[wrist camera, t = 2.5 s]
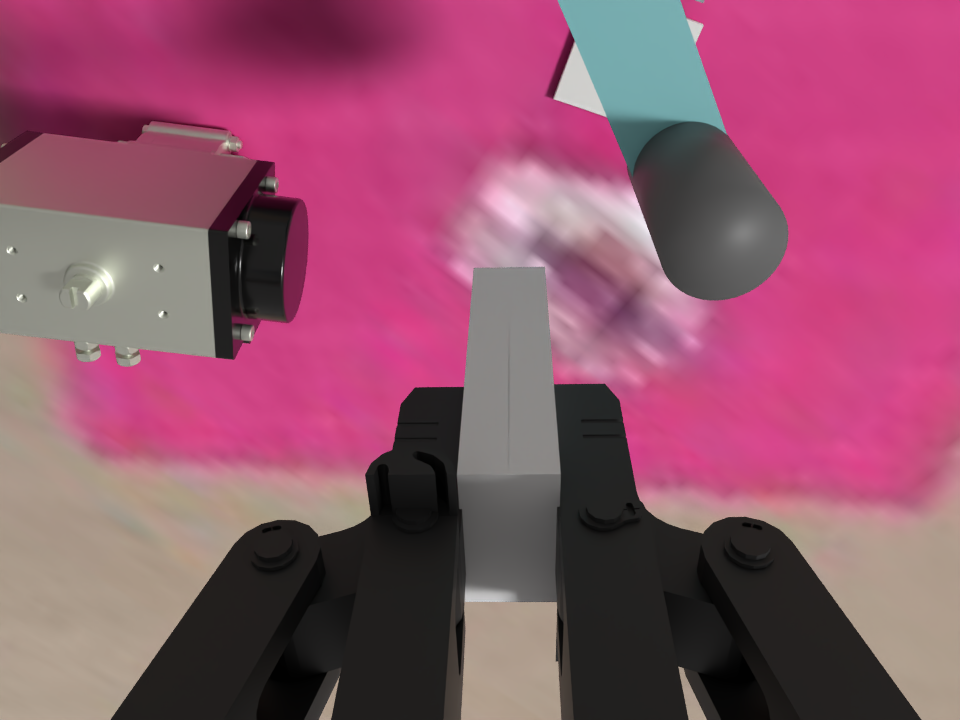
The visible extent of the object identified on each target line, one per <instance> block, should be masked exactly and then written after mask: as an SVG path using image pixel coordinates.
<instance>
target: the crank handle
mask: <svg viewBox="0 0 960 720" xmlns="http://www.w3.org/2000/svg"><path fill="white" fill-rule="evenodd" d="M558 2H559V5H560V7H561V9H562V12H563V14H564V17H565V19H566V21H567V24H568V26H569V28H570V31H571V33H572V35H573V38H574V40H575V43H576V45H577V47H578V50H579V52H580V54H581V57H582V59H583V61H584V64H585V66H586V69H587V71H588V73H589V76H590V78H591V80H592V83H593V85H594V88H595V90H596V92H597V95H598V97H599V99H600V102H601V104H602V106H603V109H604V111H605V114H606V116H607V118H608V121H609V123H610V125H611V128H612V130H613V132H614V135H615V137H616V140H617V142H618V144H619V147H620V149H621V151H622V154H623V156H624V159H625V161H626V163H627V170H628V175H629V178H630V180H631V183H632V186H633V189H634V191H635V194H636V197H637V200H638V202H639V205H640V208H641V210H642V213H643V216H644V219H645V221H646V224H647V227H648V230H649V232H650V235H651V238H652V240H653V243H654V246H655V249H656V251H657V254H658V257H659V260H660V262H661V265H662V268H663V270H664V272H665V274H666V276H667V278H668V279H669V280H670V282H671V283H672V284H673V285H674V286H675V287H676V288H678V289H679V290H680V291H682V292H684V293H685V294H687V295H690V296H692V297H695V298H699V299H703V300H725V299H730V298H735V297H738V296H740V295H743V294H745V293H747V292H750V291H751V290H753V289H755V288H756V287H758V286H759V285H761V284H762V283H763V282H764V281H765V280H767V279H768V278H769V277H770V276H771V274H772V273H773V272H774V271H775V270H776V268H777V267H778V265H779V264H780V262H781V260H782V258H783V256H784V253H785V251H786V247H787V242H788V225H787V221H786V218H785V216H784V213H783V211H782V210H781V208H780V206H779V205H778V204H777V202H776V201H775V199H774V198H773V197H772V195H771V194H770V193H769V191H768V190H767V188H766V187H765V186H764V184H763V183H762V182H761V180H760V179H759V178H758V176H757V175H756V173H755V172H754V171H753V169H752V168H751V167H750V165H749V164H748V162H747V161H746V160H745V158H744V157H743V156H742V154H741V153H740V151H739V150H738V149H737V147H736V146H735V145H734V143H733V142H732V140H731V139H730V138H729V136H728V135H727V134H726V131H725V128H724V125H723V122H722V119H721V116H720V113H719V111H718V108H717V105H716V102H715V99H714V96H713V93H712V90H711V88H710V85H709V82H708V79H707V76H706V73H705V70H704V67H703V65H702V62H701V59H700V56H699V53H698V50H697V47H696V44H695V42H694V39H693V36H692V33H691V30H690V27H689V24H688V21H687V19H686V16H685V13H684V10H683V7H682V4H681V1H680V0H558Z"/></svg>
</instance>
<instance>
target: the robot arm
mask: <svg viewBox="0 0 960 720" xmlns="http://www.w3.org/2000/svg"><path fill="white" fill-rule="evenodd" d="M365 477H366V484H367V491H368V498H369V504H370V511H371V516H370V517H369V518H367V519H366V520H365V521H363V522H361V523H359V524H358V525H356V526H354V527H351V528H348V529H345V530H342V531H339V532H335V533H331V534H327V535H323V536H319V537H318V534H317V533H316V532H315V531H314V530H313V529H312V528H311V527H310V526H309V525H306V524H303V523H301V522H298V521H295V520H276V521H272V522H268V523H264V524H261V525H259V526H257V527H255V528H253V529H252V530H250V531H248V532H246V533H245V534H244V535H243V536H242V537H241V538H240V539H239V540H238V541H237V542H236V543H235V544H234V545H233V547H232V548H231V550H230V551H229V552H228V554H227V555H226V557H225V558H224V559H223V561H222V562H221V564H220V565H219V567H218V568H217V569H216V571H215V572H214V574H213V575H212V577H211V578H210V579H209V581H208V582H207V584H206V585H205V586H204V588H203V589H202V591H201V592H200V594H199V595H198V596H197V598H196V599H195V601H194V602H193V603H192V605H191V606H190V608H189V609H188V611H187V612H186V613H185V615H184V616H183V618H182V619H181V620H180V622H179V623H178V625H177V626H176V628H175V629H174V630H173V632H172V633H171V635H170V636H169V638H168V639H167V640H166V642H165V643H164V645H163V646H162V647H161V649H160V650H159V652H158V653H157V655H156V656H155V657H154V659H153V660H152V662H151V663H150V664H149V666H148V667H147V669H146V670H145V672H144V673H143V674H142V676H141V677H140V679H139V680H138V681H137V683H136V684H135V686H134V687H133V689H132V690H131V691H130V693H129V694H128V696H127V697H126V699H125V700H124V701H123V703H122V704H121V706H120V707H119V708H118V710H117V711H116V713H115V714H114V716H113V717H112V718H111V720H319V718H320V716H321V713H322V711H323V709H324V707H325V705H326V703H327V701H328V699H329V697H330V695H331V692H332V690H333V688H334V686H335V684H336V682H337V680H338V678H339V676H340V678H339V683H338V688H337V693H336V698H335V703H334V708H333V713H332V718H331V720H461V705H462V686H463V667H464V647H465V616H464V601H465V602H557V637H556V661H558V664H559V682H560V701H561V719H562V720H688V715H687V709H686V704H685V699H684V694H683V689H682V684H681V679H680V674H679V668H678V666H679V667H682V668H684V671H685V675H686V677H687V679H688V681H689V683H690V685H691V688H692V690H693V692H694V694H695V696H696V698H697V700H698V702H699V704H700V706H701V708H702V710H703V712H704V714H705V716H706V718H707V720H921V719H920V717H919V716H918V714H917V713H916V712H915V710H914V709H913V708H912V706H911V705H910V703H909V702H908V701H907V699H906V698H905V697H904V695H903V694H902V692H901V691H900V690H899V688H898V687H897V685H896V684H895V683H894V681H893V680H892V679H891V677H890V676H889V674H888V673H887V672H886V670H885V669H884V668H883V666H882V665H881V663H880V662H879V661H878V659H877V658H876V657H875V655H874V654H873V652H872V651H871V650H870V648H869V647H868V646H867V644H866V643H865V641H864V640H863V639H862V637H861V636H860V635H859V633H858V632H857V630H856V629H855V628H854V626H853V625H852V623H851V622H850V621H849V619H848V618H847V617H846V615H845V614H844V612H843V611H842V610H841V608H840V607H839V606H838V604H837V603H836V601H835V600H834V599H833V597H832V596H831V595H830V593H829V592H828V590H827V589H826V588H825V586H824V585H823V584H822V582H821V581H820V579H819V578H818V577H817V575H816V574H815V573H814V571H813V570H812V568H811V567H810V566H809V564H808V563H807V562H806V560H805V559H804V557H803V556H802V555H801V553H800V552H799V550H798V549H797V548H796V546H795V545H794V544H793V542H792V541H791V540H790V539H789V538H788V537H787V536H786V535H785V534H784V533H783V532H782V531H781V530H779V529H778V528H776V527H774V526H772V525H770V524H768V523H766V522H764V521H761V520H757V519H752V518H748V517H728V518H725V519H722V520H719V521H717V522H714V523H713V524H712V525H711V526H710V527H708V528H707V529H706V530H705V531H704V534H702V533H698V532H694V531H690V530H685V529H681V528H678V527H675V526H672V525H669V524H667V523H665V522H663V521H661V520H659V519H657V518H656V517H654V516H653V515H652V514H651V513H650V512H648V511H647V510H646V509H645V507H644V504H643V503H642V502H641V501H640V500H639V497H638V495H637V491H636V486H635V481H634V476H633V470H632V465H631V460H630V454H629V449H628V444H627V438H626V433H625V428H624V423H623V417H622V412H621V407H620V401H619V399H618V398H617V397H616V396H615V395H614V394H613V393H612V391H611V390H610V389H609V388H608V387H607V386H606V385H605V384H554V380H553V367H552V354H551V342H550V329H549V316H548V303H547V290H546V277H545V267H508V268H474V271H473V284H472V296H471V308H470V320H469V333H468V345H467V357H466V369H465V382H464V387H419V388H414V389H413V391H412V392H411V393H410V394H409V395H408V396H407V398H406V399H405V400H404V401H403V402H402V403H401V407H400V412H399V417H398V426H397V428H396V433H395V442H394V444H393V449H392V450H391V451H389V452H386V453H384V454H382V455H381V456H380V457H378V458H377V459H376V460H375V461H373V462H372V463H371V465H370V466H369V468H368V470H367V472H366V474H365ZM340 672H341V673H340Z"/></svg>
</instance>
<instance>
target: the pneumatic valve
mask: <svg viewBox="0 0 960 720" xmlns="http://www.w3.org/2000/svg"><path fill="white" fill-rule="evenodd" d="M242 146H243V143H242V141H240V139H239V137H235V136H233V135H232V134H231V131H227V130H219V129H212V128H204V127H196V126H188V125H180V124H173V123H165V122H157V121H151V123H150V124H149V125H144V126H143V128H142V135H140V136H139V137H138V139H137V140H136V141H131V140H130V141H128V142H127V141H118V142H111V141H103V140H95V139H87V138H79V137H71V136H64V135H56V134H48V133H40V132H32V131H26V132H24V133H23V134H21V135H20V136H18V137H17V138H15V139H14V140H12V141H10V142H9V143H3V144H2V145H1V148H0V333H5V334H14V335H22V336H31V337H40V338H49V339H57V340H66V341H74V344H75V350H76V355H77V359H78V360H80V361H82V362H91V361H95V360H97V359H98V358H99V357H100V356H101V353H100V348H99V345H98V344H101V345H110V346H114V347H115V354H116V360H117V363H118V364H119V365H121V366H133V365H136V364H138V363H139V361H140V360H141V358H140V353H139V350H138V349H145V350H153V351H162V352H171V353H180V354H188V355H197V356H206V357H215V358H223V359H232V360H234V359H235V357H236V355H237V353H238V351H239V349H240V347H241V345H242V343H249V344H250V342H251V341H252V340H253V337H254V334H255V332H256V330H257V328H258V326H259V324H260V321H261V320H264V321H272V322H281V323H290V322H291V321H292V320H293V319H294V317H295V315H296V313H297V311H298V308H299V304H300V301H301V297H302V292H303V287H304V281H305V274H306V266H307V255H308V216H307V210H306V206H305V203H304V202H303V200H302V199H299V198H291V197H284V196H275V193H277V191H278V184H279V182H278V178H277V177H275V163H274V162H268V161H260V160H252V159H249V158H246V157H244V156H236V155H231V152H232V151H234V152H238V151H239V149H242Z"/></svg>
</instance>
